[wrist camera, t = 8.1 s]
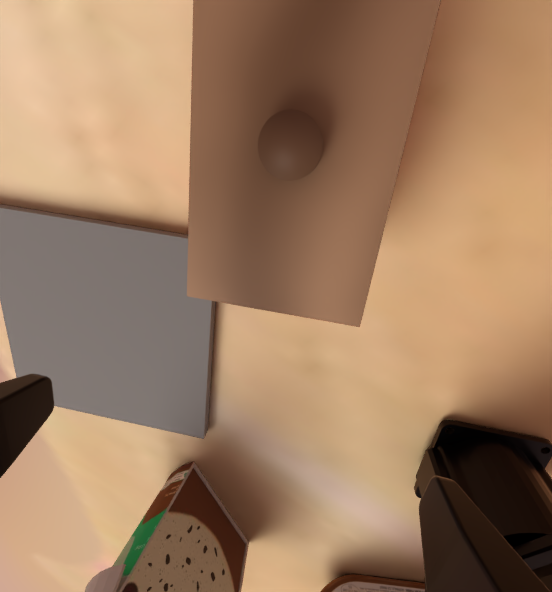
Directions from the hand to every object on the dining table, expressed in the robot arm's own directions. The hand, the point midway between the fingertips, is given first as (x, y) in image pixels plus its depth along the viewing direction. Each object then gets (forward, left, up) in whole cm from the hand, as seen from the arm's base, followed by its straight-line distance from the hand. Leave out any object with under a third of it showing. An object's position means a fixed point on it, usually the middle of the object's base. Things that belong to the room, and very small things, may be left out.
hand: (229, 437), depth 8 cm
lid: (0, -6, -8) cm, 10 cm away
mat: (+11, +6, -12) cm, 18 cm away
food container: (+5, +22, -12) cm, 26 cm away
